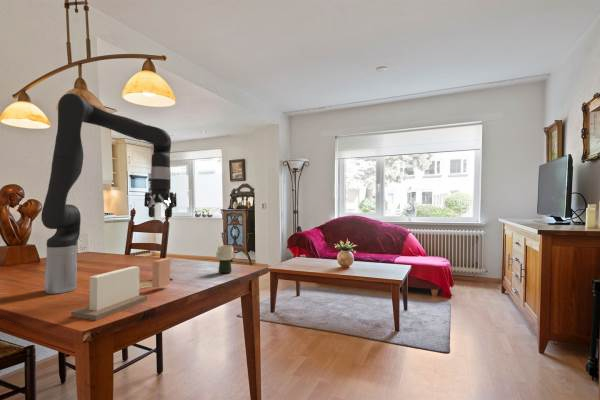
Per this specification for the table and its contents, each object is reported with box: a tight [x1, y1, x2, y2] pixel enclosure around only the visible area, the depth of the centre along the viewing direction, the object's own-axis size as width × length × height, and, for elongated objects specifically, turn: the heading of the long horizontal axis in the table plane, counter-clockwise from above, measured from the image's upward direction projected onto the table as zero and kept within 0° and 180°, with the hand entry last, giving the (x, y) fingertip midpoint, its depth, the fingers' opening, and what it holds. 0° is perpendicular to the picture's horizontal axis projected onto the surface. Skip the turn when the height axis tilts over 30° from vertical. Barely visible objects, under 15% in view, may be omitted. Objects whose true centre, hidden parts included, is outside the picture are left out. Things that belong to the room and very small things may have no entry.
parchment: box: [139, 278, 173, 290], centre depth 125 cm, size 25×10×1 cm, turn 150°
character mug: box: [215, 244, 235, 274], centre depth 148 cm, size 11×7×13 cm, turn 147°
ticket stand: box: [70, 265, 148, 322], centre depth 98 cm, size 10×19×12 cm, turn 163°
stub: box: [151, 258, 171, 289], centre depth 119 cm, size 3×6×10 cm, turn 163°
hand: (160, 217), depth 125 cm, fingers open, 8 cm apart
